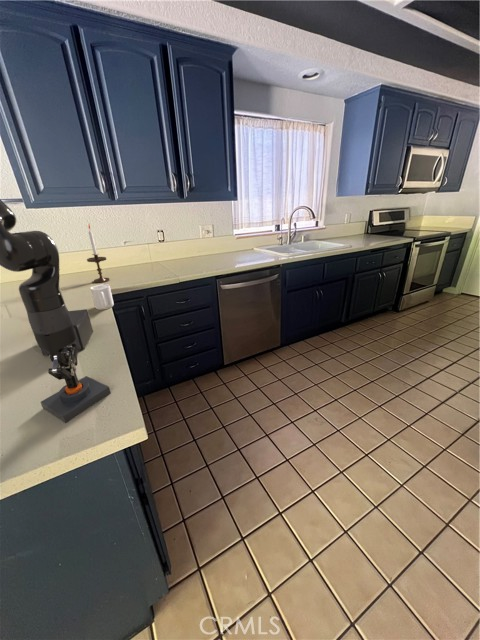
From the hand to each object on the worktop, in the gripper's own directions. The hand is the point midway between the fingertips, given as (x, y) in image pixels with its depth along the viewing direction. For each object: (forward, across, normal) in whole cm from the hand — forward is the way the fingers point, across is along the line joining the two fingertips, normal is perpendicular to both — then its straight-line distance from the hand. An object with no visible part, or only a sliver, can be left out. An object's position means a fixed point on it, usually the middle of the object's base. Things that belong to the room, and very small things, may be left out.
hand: (73, 386), depth 67 cm
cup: (+5, -69, -5) cm, 69 cm away
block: (+5, 0, 0) cm, 5 cm away
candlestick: (+5, -120, -16) cm, 121 cm away
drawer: (+4, -31, -11) cm, 34 cm away
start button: (+2, 0, 0) cm, 2 cm away
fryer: (+5, -35, -11) cm, 37 cm away
